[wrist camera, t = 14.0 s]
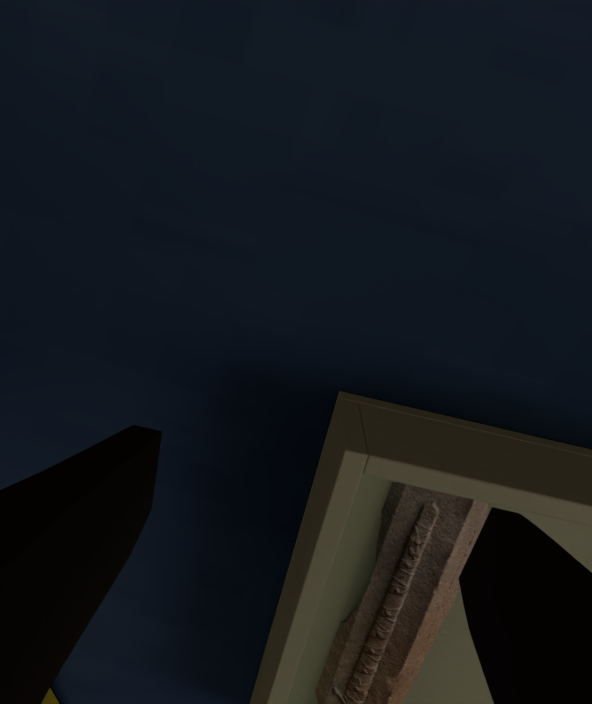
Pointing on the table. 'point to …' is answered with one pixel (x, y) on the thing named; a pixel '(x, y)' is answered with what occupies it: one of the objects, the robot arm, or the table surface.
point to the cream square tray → (364, 524)
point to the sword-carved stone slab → (402, 596)
